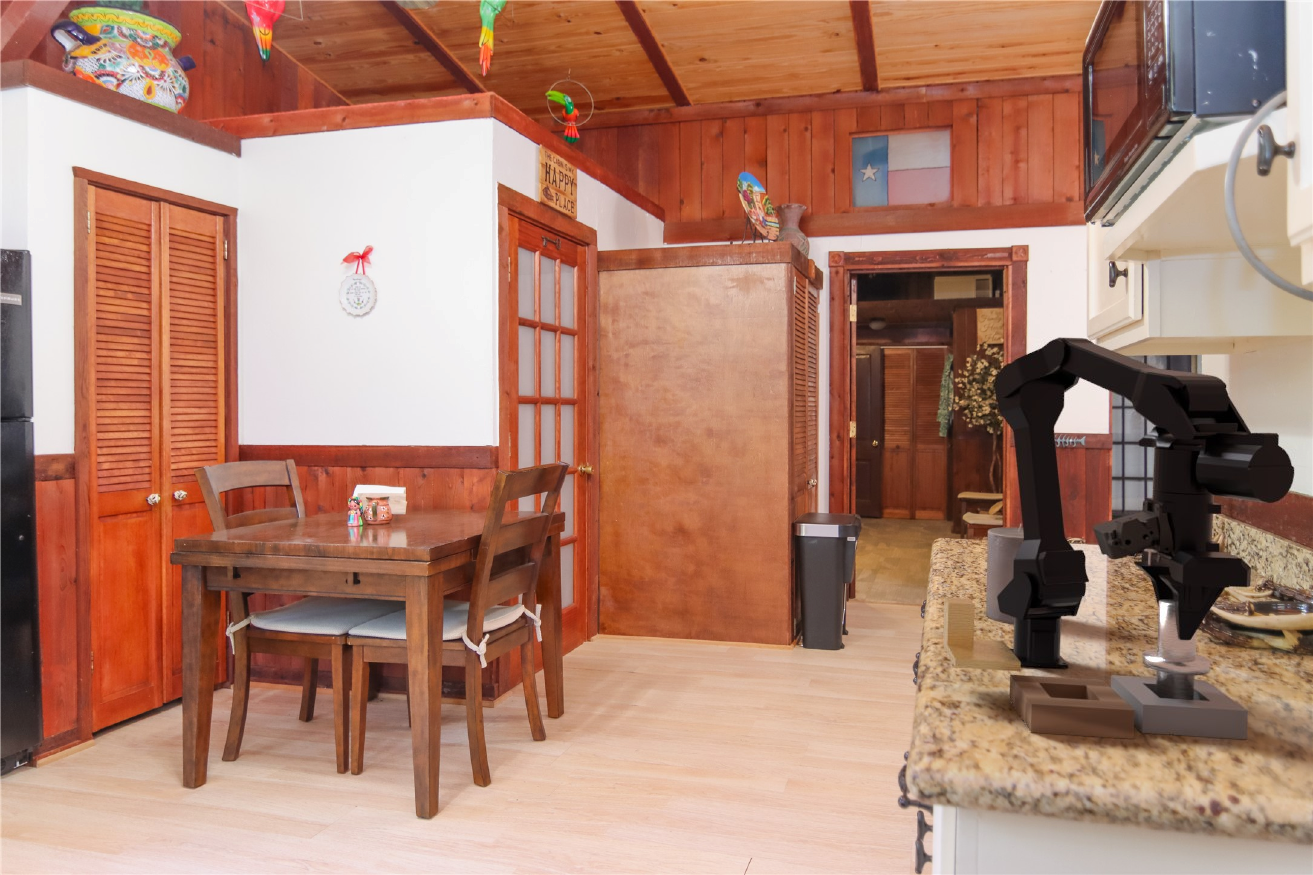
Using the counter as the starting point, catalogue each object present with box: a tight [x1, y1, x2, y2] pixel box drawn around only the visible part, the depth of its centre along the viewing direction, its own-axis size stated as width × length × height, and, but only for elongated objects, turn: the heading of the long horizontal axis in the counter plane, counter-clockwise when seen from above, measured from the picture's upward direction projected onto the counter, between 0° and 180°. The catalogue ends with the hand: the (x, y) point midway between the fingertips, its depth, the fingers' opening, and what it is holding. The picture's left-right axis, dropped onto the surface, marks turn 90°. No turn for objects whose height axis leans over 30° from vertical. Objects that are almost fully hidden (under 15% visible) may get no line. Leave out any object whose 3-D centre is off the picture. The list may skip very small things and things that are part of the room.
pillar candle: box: [985, 523, 1024, 625], centre depth 143 cm, size 10×10×15 cm
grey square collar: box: [1110, 674, 1249, 740], centre depth 99 cm, size 10×10×3 cm
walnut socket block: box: [1008, 674, 1135, 740], centre depth 99 cm, size 10×10×3 cm
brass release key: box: [942, 597, 1022, 672], centre depth 106 cm, size 9×7×6 cm
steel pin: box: [1141, 599, 1211, 700], centre depth 98 cm, size 6×6×10 cm
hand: (1176, 634), depth 98 cm, fingers closed on steel pin, 4 cm apart
